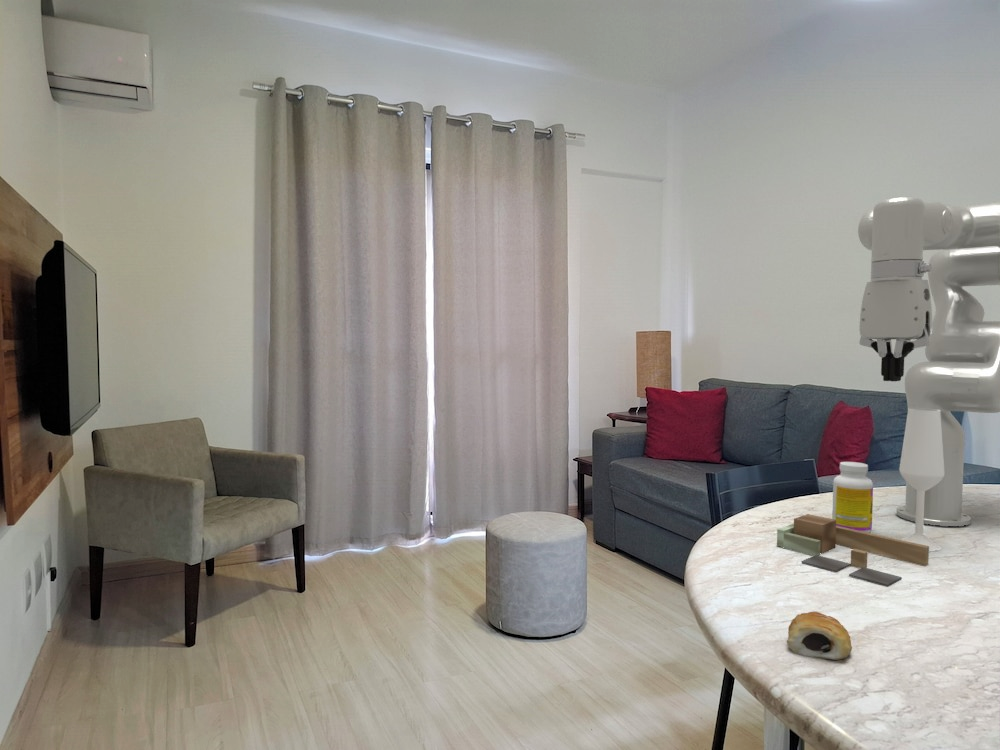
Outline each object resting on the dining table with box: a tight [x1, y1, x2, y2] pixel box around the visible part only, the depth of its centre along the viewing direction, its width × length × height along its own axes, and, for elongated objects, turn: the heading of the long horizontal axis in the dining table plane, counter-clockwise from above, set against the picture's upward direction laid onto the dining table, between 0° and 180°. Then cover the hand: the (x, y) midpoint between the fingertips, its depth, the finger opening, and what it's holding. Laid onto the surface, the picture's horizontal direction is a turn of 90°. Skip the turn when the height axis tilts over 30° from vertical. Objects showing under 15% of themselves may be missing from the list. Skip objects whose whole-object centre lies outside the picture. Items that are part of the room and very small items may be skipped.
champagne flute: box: [898, 407, 945, 552], centre depth 117 cm, size 7×7×24 cm
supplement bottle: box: [831, 461, 874, 534], centre depth 126 cm, size 7×7×13 cm
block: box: [793, 513, 837, 555], centre depth 116 cm, size 5×5×5 cm
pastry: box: [786, 610, 853, 661], centre depth 80 cm, size 9×7×4 cm
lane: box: [776, 523, 930, 587], centre depth 111 cm, size 15×20×3 cm
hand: (892, 380), depth 115 cm, fingers closed
